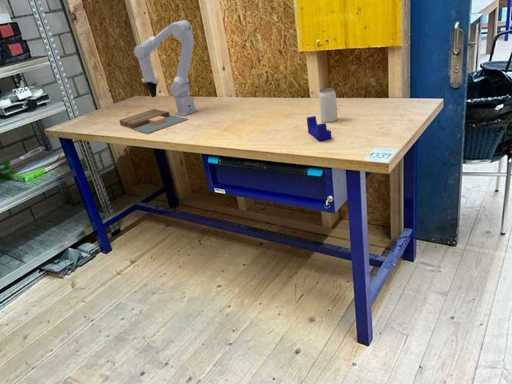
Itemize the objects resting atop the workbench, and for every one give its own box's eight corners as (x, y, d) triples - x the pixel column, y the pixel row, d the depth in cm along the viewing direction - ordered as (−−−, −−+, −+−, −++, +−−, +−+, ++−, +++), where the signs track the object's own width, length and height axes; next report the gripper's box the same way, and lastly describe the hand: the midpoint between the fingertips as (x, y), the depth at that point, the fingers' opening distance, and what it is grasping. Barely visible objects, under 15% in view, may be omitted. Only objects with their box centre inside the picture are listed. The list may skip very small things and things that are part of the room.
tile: (166, 121, 205) (165, 117, 204) (155, 125, 202) (154, 121, 201) (160, 119, 210) (159, 115, 209) (149, 123, 207) (148, 119, 206)
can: (338, 117, 168) (336, 87, 163) (336, 122, 163) (333, 91, 158) (322, 118, 171) (320, 88, 166) (319, 123, 165) (316, 92, 160)
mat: (188, 119, 203) (188, 118, 203) (147, 134, 191) (147, 133, 191) (171, 116, 214) (171, 115, 214) (132, 129, 202) (132, 128, 202)
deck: (170, 116, 214) (168, 112, 213) (134, 129, 203) (133, 124, 202) (155, 113, 225) (154, 109, 224) (120, 125, 215) (119, 120, 214)
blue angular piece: (331, 139, 147) (330, 123, 145) (319, 142, 147) (317, 125, 144) (319, 130, 158) (318, 115, 156) (308, 133, 158) (306, 117, 155)
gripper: (133, 71, 216) (140, 97, 222) (146, 72, 205) (153, 99, 211) (145, 68, 220) (152, 94, 225) (159, 68, 209) (166, 96, 215)
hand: (154, 96), depth 218 cm, fingers closed
